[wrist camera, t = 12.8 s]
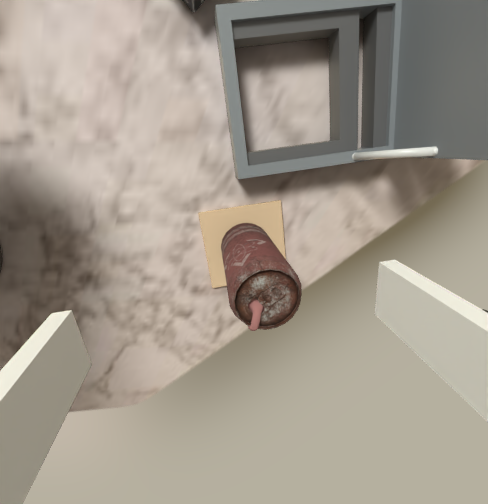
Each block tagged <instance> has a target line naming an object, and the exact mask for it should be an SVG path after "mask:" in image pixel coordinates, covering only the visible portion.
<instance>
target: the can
mask: <svg viewBox="0 0 488 504" xmlns="http://www.w3.org/2000/svg"><path fill="white" fill-rule="evenodd" d="M221 251H222V258H223V264H224V271H225V277H226V284H227V290H228V296H229V303H230V307H231V309H232V311H233V312H234V314H235V315H236V316H237V317H238V318H239V319H240V320H241V321H242V322H244V323H245V324H246V325H248V327H249V329H250V330H252V331H255V330H257V329H272V328H276V327H278V326H281V325H283V324H285V323H286V322H287V321H289V320H290V319H291V318H292V317H293V316H294V314H295V313H296V311H297V310H298V307H299V304H300V301H301V283H300V281H299V278H298V276H297V274H296V273H295V271H294V270H293V269H292V267H291V266H290V265H289V263H288V262H287V260H286V259H285V258H284V256H283V255H282V254H281V252H280V251H279V250H278V248H277V247H276V245H275V244H274V243H273V241H272V240H271V239H270V237H269V236H268V234H267V233H266V232H265V231H264V230H263V229H262V228H261V227H259V226H257V225H256V224H252V223H241V224H238V225H236V226H233V227H232V228H231V229H229V230H228V231H227V232H226V234H225V235H224V237H223V239H222V243H221Z"/></svg>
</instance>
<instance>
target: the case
mask: <svg viewBox="0 0 488 504" xmlns="http://www.w3.org/2000/svg"><path fill="white" fill-rule="evenodd" d="M359 19H364V31H363V84H362V137H361V148H357V144H358V74H359ZM215 27H216V34H217V42H218V49H219V57H220V64H221V71H222V79H223V86H224V94H225V101H226V108H227V116H228V123H229V131H230V138H231V145H232V153H233V160H234V168H235V175H236V177H237V178H238V179H244V178H251V177H258V176H264V175H271V174H278V173H285V172H292V171H299V170H305V169H312V168H319V167H326V166H333V165H339V164H346V163H353V162H360V161H367V160H374V159H387V158H405V157H417V158H444V159H471V160H488V0H259V1H249V2H238V3H228V4H218V5H215ZM321 38H329V93H330V141H324V142H317V143H309V144H302V145H295V146H288V147H281V148H274V149H266V150H259V151H252V152H247V151H246V143H245V134H244V126H243V117H242V109H241V100H240V92H239V83H238V75H237V67H236V58H235V50H234V48H240V47H249V46H258V45H267V44H276V43H285V42H294V41H303V40H312V39H321Z"/></svg>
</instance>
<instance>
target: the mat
mask: <svg viewBox="0 0 488 504" xmlns="http://www.w3.org/2000/svg"><path fill="white" fill-rule="evenodd" d="M198 214H199V219H200V225H201V230H202V235H203V240H204V246H205V251H206V256H207V262H208V267H209V272H210V277H211V283H212V288H216V287H222V286H227V284H226V277H225V271H224V264H223V258H222V251H221V243H222V239H223V237H224V235H225V234H226V232H227V231H228V230H229V229H231V228H232V227H233V226H236V225H238V224H241V223H252V224H256V225H257V226H259V227H261V228H262V229H263V230H264V231H265V232H266V233H267V234H268V236H269V237H270V239H271V240H272V241H273V243H274V244H275V245H276V247H277V248H278V250H279V251H280V252H281V254H282V255H283V256H284V258H285V259H286V257H285V245H284V232H283V220H282V208H281V200H278V201H271V202H265V203H258V204H252V205H246V206H239V207H233V208H226V209H220V210H213V211H207V212H200V213H198Z"/></svg>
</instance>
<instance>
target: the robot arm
mask: <svg viewBox="0 0 488 504" xmlns="http://www.w3.org/2000/svg"><path fill="white" fill-rule="evenodd" d="M1 267H2V253H1V247H0V272H1ZM375 315H376V316H377V317H378V318H379V319H380V320H381V321H382V322H383V323H384V324H385V325H387V327H389V329H391V330H392V331H393V332H394V333H395V334H396V335H397V336H398V337H399V338H400V339H401V340H402V341H403V342H404V343H405V344H407V345H408V347H409V348H410V349H412V350H413V351H414V352H415V353H416V354H417V355H418V356H419V357H420V358H421V359H422V360H423V361H424V362H425V363H427V365H428V366H429V367H431V368H432V369H433V370H434V371H435V372H436V373H437V374H438V375H439V376H440V377H441V378H442V379H443V380H444V381H445V382H446V383H447V384H448V385H449V386H451V388H453V389H454V390H455V391H456V392H457V393H458V394H459V395H460V396H461V397H462V398H463V399H464V400H465V401H466V402H467V403H468V404H469V405H470V406H471V407H472V408H474V409H475V410H476V411H477V412H478V413H479V414H480V415H481V416H482V417H483V418H484V419H485V420H486V421H487V422H488V311H486V310H484V309H480V308H478V307H476V306H475V305H473V304H471V303H469V302H468V301H466V300H464V299H463V298H461V297H459V296H457V295H456V294H454V293H452V292H450V291H449V290H447V289H445V288H443V287H442V286H440V285H438V284H436V283H434V282H433V281H431V280H429V279H428V278H426V277H424V276H422V275H421V274H419V273H417V272H415V271H414V270H412V269H410V268H409V267H407V266H405V265H403V264H402V263H400V262H398V261H396V260H391V261H384V262H379V271H378V282H377V294H376V306H375ZM91 365H92V363H91V360H90V358H89V355H88V352H87V350H86V347H85V344H84V341H83V339H82V336H81V333H80V331H79V328H78V325H77V323H76V320H75V317H74V314H73V312H72V310H69V311H63V312H56V313H51V315H50V316H49V317H48V318H47V319H46V320H45V321H44V322H43V324H42V325H41V326H40V327H39V328H38V329H37V330H36V331H35V332H34V334H33V335H32V336H31V337H30V338H29V339H28V340H27V341H26V343H25V344H24V345H23V346H22V347H21V348H20V349H19V350H18V352H17V353H16V354H15V355H14V356H13V357H12V358H11V359H10V361H9V362H8V363H7V364H6V365H5V366H4V367H3V368H2V369H1V371H0V504H23V502H24V500H25V498H26V496H27V494H28V492H29V490H30V488H31V486H32V484H33V482H34V480H35V478H36V476H37V474H38V472H39V470H40V468H41V466H42V464H43V462H44V460H45V458H46V456H47V454H48V452H49V450H50V448H51V446H52V444H53V442H54V440H55V438H56V436H57V434H58V432H59V430H60V428H61V426H62V423H63V422H64V420H65V417H66V416H67V414H68V412H69V410H70V408H71V405H72V403H73V401H74V399H75V397H76V395H77V393H78V391H79V389H80V387H81V385H82V383H83V381H84V379H85V377H86V375H87V373H88V371H89V369H90V367H91Z"/></svg>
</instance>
